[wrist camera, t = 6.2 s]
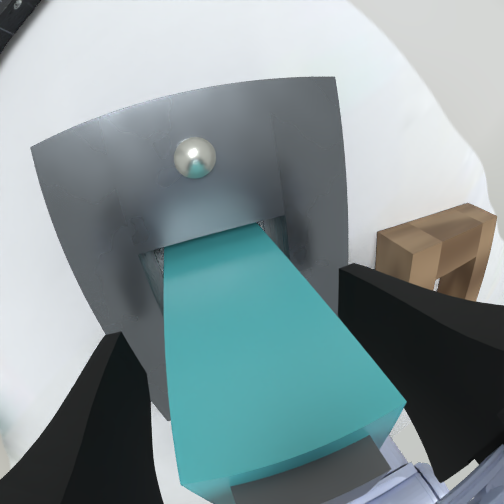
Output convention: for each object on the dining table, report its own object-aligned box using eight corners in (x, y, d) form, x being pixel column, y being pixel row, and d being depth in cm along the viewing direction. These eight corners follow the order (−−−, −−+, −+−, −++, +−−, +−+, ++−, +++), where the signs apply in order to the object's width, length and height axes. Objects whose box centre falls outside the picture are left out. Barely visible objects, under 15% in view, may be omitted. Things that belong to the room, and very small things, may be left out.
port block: (319, 334, 17) (344, 370, 14) (164, 381, 15) (168, 425, 12) (297, 85, 10) (339, 75, 7) (63, 141, 9) (26, 148, 6)
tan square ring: (447, 305, 21) (467, 322, 18) (365, 351, 19) (385, 377, 17) (467, 202, 16) (497, 216, 14) (377, 231, 15) (413, 254, 12)
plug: (258, 279, 14) (381, 486, 4) (187, 300, 13) (242, 538, 4) (245, 210, 12) (433, 436, 3) (164, 232, 11) (190, 530, 2)
